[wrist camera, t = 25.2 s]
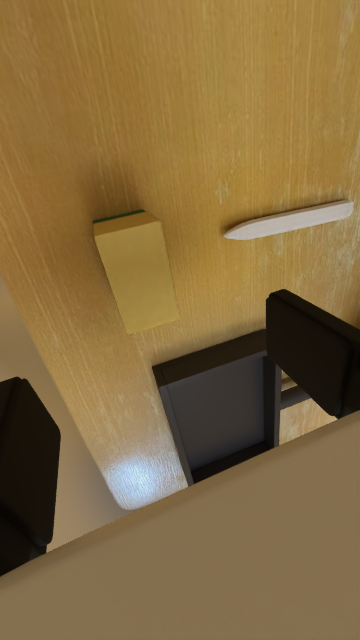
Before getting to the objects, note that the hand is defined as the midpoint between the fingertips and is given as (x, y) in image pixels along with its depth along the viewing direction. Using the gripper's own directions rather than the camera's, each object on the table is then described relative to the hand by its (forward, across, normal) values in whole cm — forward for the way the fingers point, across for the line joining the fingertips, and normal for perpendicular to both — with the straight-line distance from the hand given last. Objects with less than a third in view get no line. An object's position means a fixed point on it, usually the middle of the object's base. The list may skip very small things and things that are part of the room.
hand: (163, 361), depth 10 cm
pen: (+14, -16, 0) cm, 21 cm away
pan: (+14, -7, +22) cm, 27 cm away
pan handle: (+13, -17, +22) cm, 31 cm away
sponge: (+14, -1, 0) cm, 14 cm away
